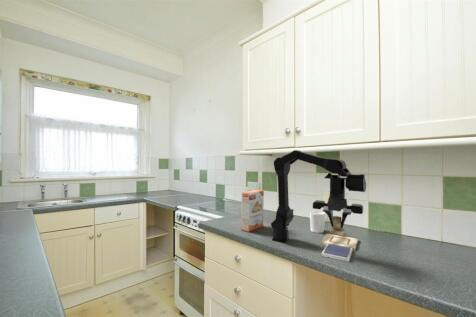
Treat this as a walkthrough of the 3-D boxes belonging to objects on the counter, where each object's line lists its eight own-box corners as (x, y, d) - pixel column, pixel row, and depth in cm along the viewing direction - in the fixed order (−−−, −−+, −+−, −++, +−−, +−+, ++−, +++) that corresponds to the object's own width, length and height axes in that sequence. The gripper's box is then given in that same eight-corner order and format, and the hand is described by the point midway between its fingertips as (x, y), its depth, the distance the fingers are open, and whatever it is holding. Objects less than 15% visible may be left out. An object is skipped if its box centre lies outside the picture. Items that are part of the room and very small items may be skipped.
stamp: (329, 234, 95) (329, 217, 95) (331, 230, 99) (331, 215, 99) (342, 236, 92) (342, 219, 92) (344, 232, 96) (344, 216, 96)
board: (320, 244, 105) (320, 241, 105) (327, 235, 117) (327, 233, 117) (355, 250, 98) (355, 248, 98) (357, 240, 110) (357, 238, 110)
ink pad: (321, 256, 93) (321, 252, 93) (327, 246, 103) (327, 243, 103) (348, 261, 88) (348, 257, 88) (352, 251, 98) (352, 247, 98)
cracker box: (249, 232, 122) (249, 193, 122) (240, 230, 126) (240, 192, 126) (264, 226, 133) (264, 190, 133) (255, 224, 137) (255, 189, 137)
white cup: (306, 229, 127) (306, 211, 127) (318, 228, 130) (318, 210, 130) (316, 234, 120) (316, 214, 120) (328, 232, 122) (328, 213, 122)
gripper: (309, 190, 93) (309, 228, 93) (361, 194, 84) (361, 237, 84) (315, 187, 103) (315, 222, 103) (363, 190, 93) (363, 229, 93)
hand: (337, 227), depth 95 cm, fingers closed on stamp, 3 cm apart
